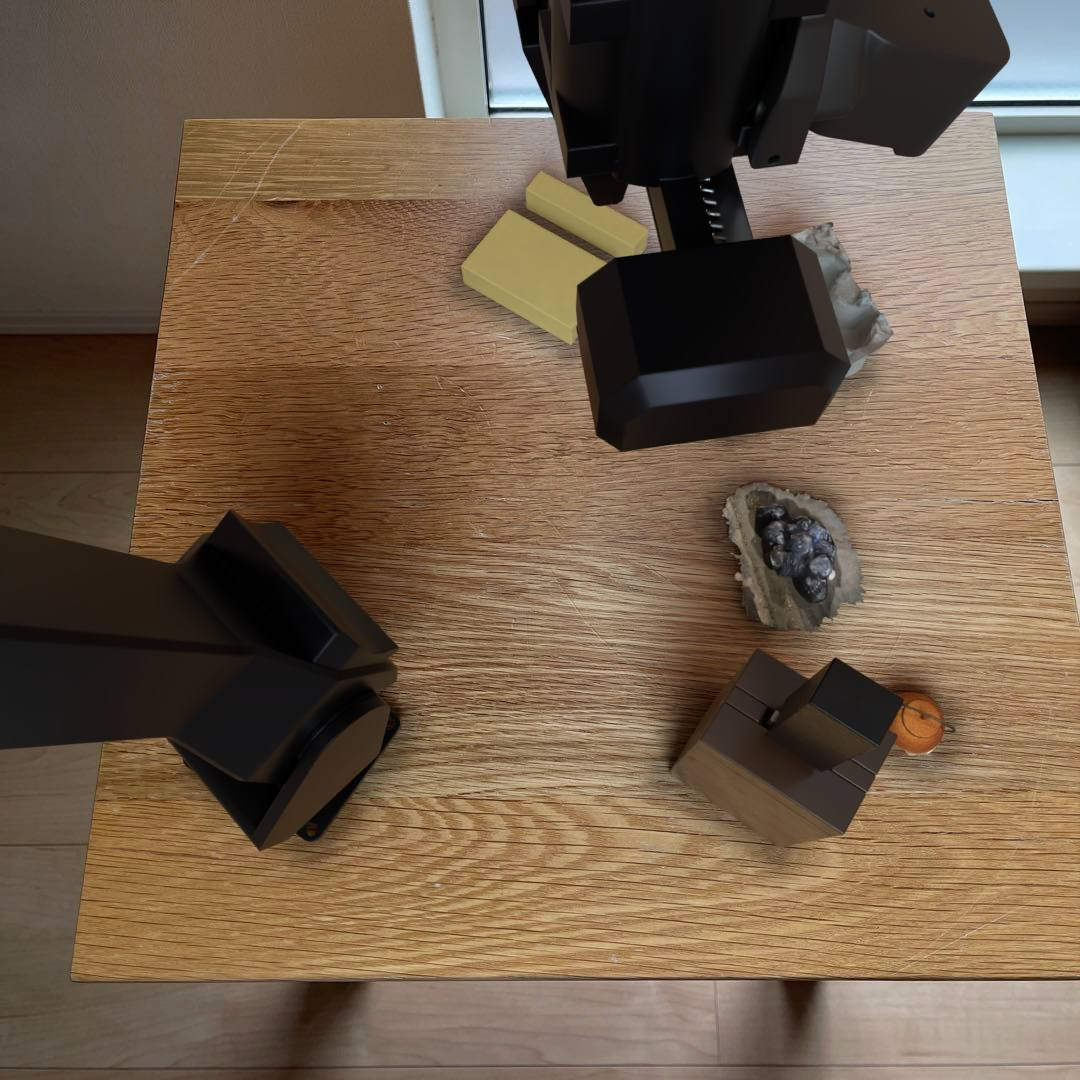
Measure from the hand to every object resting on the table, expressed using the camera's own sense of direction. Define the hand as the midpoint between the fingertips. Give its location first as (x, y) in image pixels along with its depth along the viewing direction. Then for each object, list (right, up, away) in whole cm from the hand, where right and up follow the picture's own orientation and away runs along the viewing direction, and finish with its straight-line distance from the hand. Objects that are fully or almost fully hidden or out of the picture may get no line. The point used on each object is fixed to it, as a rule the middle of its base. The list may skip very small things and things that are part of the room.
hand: (629, 302), depth 34 cm
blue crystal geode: (+8, -9, +11) cm, 17 cm away
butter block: (-3, +5, +17) cm, 18 cm away
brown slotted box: (+6, -19, +7) cm, 21 cm away
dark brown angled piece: (+6, -16, 0) cm, 17 cm away
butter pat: (-1, +9, +18) cm, 20 cm away
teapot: (+13, -17, +8) cm, 23 cm away
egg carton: (+8, +1, +15) cm, 17 cm away
